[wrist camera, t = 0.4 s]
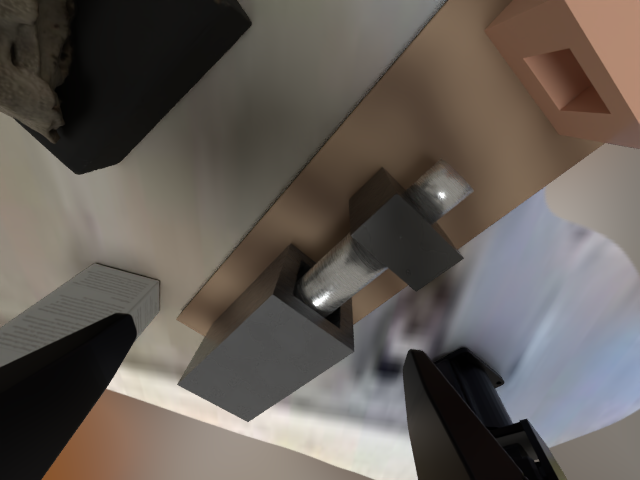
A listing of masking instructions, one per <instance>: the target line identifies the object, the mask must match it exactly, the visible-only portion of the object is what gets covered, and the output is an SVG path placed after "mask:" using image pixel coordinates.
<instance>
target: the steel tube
mask: <svg viewBox="0 0 640 480" xmlns="http://www.w3.org/2000/svg"><path fill="white" fill-rule="evenodd" d="M472 192H474V191H473V189H472V188H471V186H470V185H469V184H468V183H467V182H466V181H465V180H464V178H463V177H462V176H461V175H460V174H459V173H458V172H457V171H456V170H455V169H454V168H452V167H451V166H450V165H449V164H448V163H447V162H446V161H444V160H443V159H440V160H439V161H438V162H437V163H436V164H435V165H433V166H432V167H431V168H430V169H429V170H428V171H427V172H426V173H425V174H423V175H422V176H421V177H420V178H419V179H418V180H417V181H416V182H415V183H414V184H412V185H411V186H410V187H409V188H408V189H407V190H405V189H404V188H403V187H402V186H401V185H400V184H399V183H398V182H397V181H396V180H395V179H394V178H393V177H392V176H391V175H390V174H389V173H388V172H387V171H386V170H385V169H384V168H383V167H382V168H381V169H380V170H379V171H377V172H376V173H375V174H374V175H373V176H372V177H371V178H370V179H369V180H368V181H367V182H366V183H365V184H364V185H363V186H362V187H361V188H360V189H359V190H358V191H357V192H356V193H355V194H354V195H353V196H352V197H351V198H350V199H349V218H350V233H349V234H348V235H347V236H345V237H344V238H343V239H342V240H341V241H340V242H339V243H338V244H337V245H336V246H335V247H334V248H332V249H331V250H330V251H329V252H328V253H327V254H326V255H325V256H324V257H323V258H322V259H321V260H319V261H318V262H317V263H316V264H315V265H314V266H313V267H312V268H311V269H310V270H309V271H308V272H306V273H305V274H304V275H303V276H302V277H301V278H300V279H299V280H298V281H297V282H296V283H295V286H294V290H293V293H292V295H293V296H295V297H296V298H297V299H299V300H300V301H302V302H303V303H304V304H306V305H307V306H309V307H310V308H311V309H313V310H314V311H315V312H317V313H318V314H320V315H321V316H322V317H324V318H326V317H327V316H328V315H329V314H331V313H332V312H333V311H335V310H336V309H337V308H338V307H340V306H341V305H342V304H344V303H345V302H346V301H347V300H349V299H350V298H351V297H352V296H354V295H355V294H356V293H358V292H359V291H360V290H361V289H363V288H364V287H365V286H367V285H368V284H369V283H370V282H372V281H373V280H374V279H375V278H377V277H378V276H379V275H381V274H382V273H383V272H384V271H386V270H387V269H388V268H389V269H390V270H391V271H392V272H393V273H395V274H396V275H397V276H398V277H399V278H401V279H402V280H403V281H404V282H405V283H406V284H408V285H409V286H410V287H411V288H412V289H413V290H415V291H418V290H419V289H421V288H422V287H424V286H425V285H426V284H428V283H429V282H431V281H432V280H434V279H435V278H436V277H438V276H439V275H441V274H442V273H444V272H445V271H447V270H448V269H449V268H451V267H452V266H454V265H455V264H457V263H458V262H459V261H461V260H462V259H464V258H463V256H462V255H461V254H460V252H459V251H458V250H457V248H456V247H455V246H454V244H453V243H452V242H451V240H450V239H449V238H448V236H447V235H446V234H445V232H444V231H443V229H442V228H441V227H440V225H439V224H438V223H437V220H439V219H440V218H441V217H442V216H444V215H445V214H446V213H447V212H449V211H450V210H451V209H452V208H454V207H455V206H456V205H457V204H459V203H460V202H461V201H462V200H464V199H465V198H466V197H467V196H469V195H470V194H471V193H472Z"/></svg>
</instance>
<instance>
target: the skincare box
mask: <svg viewBox="0 0 640 480" xmlns="http://www.w3.org/2000/svg"><path fill="white" fill-rule="evenodd" d="M118 312H120V313H128V314H130V315H132V317H133V320H134V323H135V326H136V329H137V337H136V339H137V338H138V337H139V336H140V334H141V333H142V332H143V331H144V330H145V328H146V327H147V326H148V325H149V323H150V322H151V321H152V320H153V319H154V317H155V316H156V315H157V314H158V312H159V281H158V280H154V279H150V278H147V277H143V276H139V275H135V274H132V273H128V272H124V271H121V270H117V269H113V268H110V267H106V266H102V265H99V264H92V265H91V266H89V267H88V268H86V269H85V270H83V271H82V272H80V273H79V274H78V275H76V276H75V277H73V278H72V279H70V280H69V281H67V282H66V283H64V284H63V285H62V286H60V287H59V288H57V289H56V290H54V291H53V292H52V293H50V294H49V295H47V296H46V297H44V298H43V299H41V300H40V301H38V302H37V303H35V304H34V305H33V306H31V307H30V308H28V309H27V310H25V311H24V312H23V313H21V314H19V315H18V316H17V317H15V318H14V319H12V320H11V321H9V322H8V323H7V324H5V325H4V326H2V327H1V328H0V367H1V366H3V365H6V364H8V363H10V362H12V361H14V360H16V359H18V358H21V357H23V356H25V355H27V354H29V353H31V352H33V351H35V350H38V349H40V348H42V347H44V346H46V345H48V344H50V343H52V342H55V341H57V340H59V339H61V338H63V337H65V336H67V335H69V334H72V333H74V332H76V331H78V330H80V329H82V328H84V327H87V326H89V325H91V324H93V323H95V322H97V321H99V320H101V319H104V318H106V317H108V316H110V315H112V314H114V313H118ZM136 339H135V340H136ZM134 342H135V341H134Z"/></svg>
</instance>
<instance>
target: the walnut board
mask: <svg viewBox="0 0 640 480" xmlns="http://www.w3.org/2000/svg"><path fill="white" fill-rule="evenodd" d="M511 2H512V0H447V1H446V2H445V4H444V5H443V6H442V7H441V8H440V9H439V11H438V12H437V13H436V14H435V15H434V16H433V18H432V19H431V20H430V21H429V22H428V23H427V25H426V26H425V27H424V28H423V29H422V31H421V32H420V33H419V34H418V35H417V36H416V38H415V39H414V40H413V41H412V42H411V43H410V45H409V46H408V47H407V48H406V49H405V50H404V52H403V53H402V54H401V55H400V56H399V57H398V59H397V60H396V61H395V62H394V63H393V65H392V66H391V67H390V68H389V69H388V70H387V72H386V73H385V74H384V75H383V76H382V77H381V79H380V80H379V81H378V82H377V83H376V84H375V86H374V87H373V88H372V89H371V90H370V92H369V93H368V94H367V95H366V96H365V97H364V99H363V100H362V101H361V102H360V103H359V104H358V106H357V107H356V108H355V109H354V110H353V111H352V113H351V114H350V115H349V116H348V117H347V118H346V120H345V121H344V122H343V123H342V124H341V126H340V127H339V128H338V129H337V130H336V131H335V133H334V134H333V135H332V136H331V137H330V138H329V140H328V141H327V142H326V143H325V144H324V145H323V147H322V148H321V149H320V150H319V151H318V153H317V154H316V155H315V156H314V157H313V158H312V160H311V161H310V162H309V163H308V164H307V165H306V167H305V168H304V169H303V170H302V171H301V172H300V174H299V175H298V176H297V177H296V178H295V179H294V181H293V182H292V183H291V184H290V185H289V187H288V188H287V189H286V190H285V191H284V192H283V194H282V195H281V196H280V197H279V198H278V199H277V201H276V202H275V203H274V204H273V205H272V206H271V208H270V209H269V210H268V211H267V212H266V214H265V215H264V216H263V217H262V218H261V219H260V221H259V222H258V223H257V224H256V225H255V226H254V228H253V229H252V230H251V231H250V232H249V233H248V235H247V236H246V237H245V238H244V239H243V240H242V242H241V243H240V244H239V245H238V246H237V248H236V249H235V250H234V251H233V252H232V253H231V255H230V256H229V257H228V258H227V259H226V260H225V262H224V263H223V264H222V265H221V266H220V267H219V269H218V270H217V271H216V272H215V273H214V275H213V276H212V277H211V278H210V279H209V280H208V282H207V283H206V284H205V285H204V286H203V287H202V289H201V290H200V291H199V292H198V293H197V294H196V296H195V297H194V298H193V299H192V300H191V301H190V303H189V304H188V305H187V306H186V307H185V309H184V310H183V311H182V312H181V313H180V315H179V316H178V317H177V319H176V320H178V321H180V322H181V323H183V324H185V325H186V326H188V327H190V328H191V329H193V330H195V331H196V332H198V333H200V334H201V335H203V336H206V334H207V332H208V330H209V329H210V327H211V325H212V324H213V323H214V322H215V321H216V320H217V319H218V318H219V317H220V316H221V314H222V313H223V312H224V311H225V310H226V309H227V308H228V307H229V306H230V305H231V304H232V303H233V302H234V301H235V300H236V299H237V298H238V297H239V296H240V295H241V294H242V293H243V292H244V291H245V290H246V289H247V288H248V287H249V286H250V285H251V284H252V283H253V282H254V281H255V280H256V278H257V277H258V276H259V275H260V274H261V273H262V272H263V271H264V270H265V269H266V268H267V267H268V266H269V265H270V264H271V263H272V262H273V261H274V260H275V259H276V258H277V257H278V256H279V255H280V254H281V253H282V252H283V251H284V250H285V249H286V248H287V247H288V246H289V245H290V243H292V244H293V245H294V246H295V247H297V248H298V249H299V250H301V251H302V252H303V253H304V254H306V255H307V256H308V257H310V258H311V259H312V260H313V261H315V262H316V263H317V262H318V261H319V260H321V259H322V258H323V257H324V256H325V255H326V254H327V253H328V252H329V251H330V250H331V249H332V248H334V247H335V246H336V245H337V244H338V243H339V242H340V241H341V240H342V239H343V238H344V237H345V236H347V235H348V234H349V233H350V218H349V199H350V198H351V197H352V196H353V195H354V194H355V193H356V192H357V191H358V190H359V189H360V188H361V187H362V186H363V185H364V184H365V183H366V182H367V181H368V180H369V179H370V178H371V177H372V176H373V175H374V174H375V173H376V172H377V171H379V170H380V169H381V168H382V167H383V168H384V169H385V170H386V171H387V172H388V173H389V174H390V175H391V176H392V177H393V178H394V179H395V180H396V181H397V182H398V183H399V184H400V185H401V186H402V187H403V188H404V189H405V190H407V189H408V188H409V187H410V186H411V185H412V184H414V183H415V182H416V181H417V180H418V179H419V178H420V177H421V176H422V175H423V174H425V173H426V172H427V171H428V170H429V169H430V168H431V167H432V166H433V165H435V164H436V163H437V162H438V161H439V160H440V159H443V160H444V161H446V162H447V163H448V164H449V165H450V166H451V167H452V168H454V169H455V170H456V171H457V172H458V173H459V174H460V175H461V176H462V177H463V178H464V180H465V181H466V182H467V183H468V184H469V185H470V186H471V188H472V189H473V191H474V192H472V193H471V194H470V195H469V196H467V197H466V198H465V199H464V200H462V201H461V202H460V203H459V204H457V205H456V206H455V207H454V208H452V209H451V210H450V211H449V212H447V213H446V214H445V215H444V216H442V217H441V218H440V219H439V220H437V223H438V224H439V225H440V227H441V228H442V229H443V231H444V232H445V234H446V235H447V236H448V238H449V239H450V240H451V242H452V243H453V244H454V246H455V247H456V248H457V250H458V249H459V248H460V247H462V246H463V245H465V244H466V243H467V242H469V241H470V240H471V239H473V238H474V237H476V236H477V235H478V234H480V233H481V232H483V231H484V230H485V229H487V228H488V227H489V226H491V225H492V224H494V223H495V222H496V221H498V220H499V219H501V218H502V217H503V216H505V215H506V214H507V213H509V212H510V211H512V210H513V209H514V208H516V207H517V206H519V205H520V204H521V203H523V202H524V201H525V200H527V199H528V198H530V197H531V196H532V195H534V194H535V193H537V192H538V191H539V190H541V189H542V188H543V187H545V186H546V185H548V184H549V183H550V182H552V181H553V180H555V179H556V178H557V177H559V176H560V175H561V174H563V173H564V172H566V171H567V170H568V169H570V168H571V167H572V166H574V165H575V164H577V163H578V162H580V161H581V160H582V159H584V158H585V157H586V156H588V155H589V154H590V153H592V152H593V151H595V150H596V149H597V148H599V147H600V146H602V145H603V144H604V143H602V142H597V141H591V140H586V139H580V138H574V137H569V136H563V135H559V134H558V133H557V131H556V130H555V128H554V127H553V126H552V124H551V123H550V121H549V120H548V119H547V117H546V116H545V115H544V113H543V112H542V110H541V109H540V108H539V106H538V105H537V104H536V102H535V101H534V99H533V98H532V97H531V95H530V94H529V92H528V91H527V90H526V88H525V87H524V86H523V84H522V83H521V81H520V80H519V79H518V77H517V76H516V75H515V73H514V72H513V70H512V69H511V68H510V66H509V65H508V63H507V62H506V61H505V59H504V58H503V57H502V55H501V54H500V52H499V51H498V50H497V48H496V47H495V46H494V44H493V43H492V41H491V40H490V39H489V37H488V36H487V34H486V33H485V32H484V30H485V29H486V28H487V27H488V26H489V25H490V24H491V23H492V22H493V20H494V19H495V18H496V17H497V16H498V15H499V14H500V13H501V12H502V11H503V10H504V9H505V8H506V7H507V6H508V5H509V4H510V3H511ZM406 286H408V284H406V283H405V282H404V281H403V280H402V279H401V278H399V277H398V276H397V275H396V274H395V273H393V272H392V271H391V270H390V269H389V268H388V269H387V270H386V271H384V272H383V273H382V274H381V275H379V276H378V277H377V278H375V279H374V280H373V281H372V282H370V283H369V284H368V285H367V286H365V287H364V288H363V289H361V290H360V291H359V292H358V293H356V294H355V295H354V296H352V311H353V325H354V324H355V323H356V322H358V321H359V320H361V319H362V318H363V317H365V316H366V315H368V314H369V313H370V312H372V311H373V310H374V309H376V308H377V307H379V306H380V305H381V304H383V303H384V302H386V301H387V300H388V299H390V298H391V297H392V296H394V295H395V294H397V293H398V292H399V291H401V290H402V289H404V288H405V287H406Z"/></svg>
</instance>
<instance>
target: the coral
mask: <svg viewBox="0 0 640 480" xmlns="http://www.w3.org/2000/svg"><path fill="white" fill-rule="evenodd" d="M250 26H251V21H250V19H249V17H248V16H247V14H246V13H245V12H244V10H243V9H242V7H241V6H240V4H239V3H238V1H237V0H0V112H3V113H4V114H6V115H8V116H11V117H13V118H14V119H15V120H16V121H17V122H18V123H19V124H20V125H21V126H22V127H23V128H25V129H26V130H27V131H28V132H29V133H30V134H31V135H32V136H33V137H35V138H36V139H37V140H38V141H39V142H40V143H41V144H42V145H43V146H44V147H46V148H47V149H48V150H49V151H50V152H51V153H52V154H53V155H54V156H56V157H57V158H58V159H59V160H60V161H61V162H62V163H63V164H64V165H66V166H67V167H68V168H69V169H70V170H72V171H73V172H74V173H75V174H78V175H80V174H84V173H88V172H91V171H94V170H97V169H102V168H105V167H108V166H112V165H115V164H117V163H119V162H120V161H121V160H123V159H124V158H125V157H126V156H127V155H128V153H129V152H130V151H131V150H132V149H133V148H134V147H135V146H136V145H137V144H138V143H139V142H140V141H141V140H142V139H143V138H144V137H145V136H146V135H147V133H149V132H150V131H151V130H152V129H153V127H154V126H155V125H156V124H157V123H158V122H159V121H160V120H161V119H162V118H163V117H164V116H165V115H166V114H167V113H168V112H169V110H170V109H171V108H172V107H173V106H175V104H176V103H177V102H178V101H179V100H180V99H181V98H182V97H183V96H184V95H185V94H186V93H187V92H188V91H189V90H190V89H191V88H192V87H193V86H194V85H195V84H196V83H197V82H198V81H199V80H200V79H201V78H202V77H203V75H204V74H205V73H206V72H207V71H208V70H209V69H210V68H211V67H212V66H213V65H214V64H215V63H216V62H217V61H218V60H219V59H220V58H221V57H222V56H223V55H224V54H225V53H226V52H227V51H228V50H229V49H230V48H231V47H232V46H233V45H234V44H235V43H236V41H237V40H238V39H239V38H240V37H241V35H243V34H244V32H245V31H246V30H247V29H248V28H249V27H250Z"/></svg>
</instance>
